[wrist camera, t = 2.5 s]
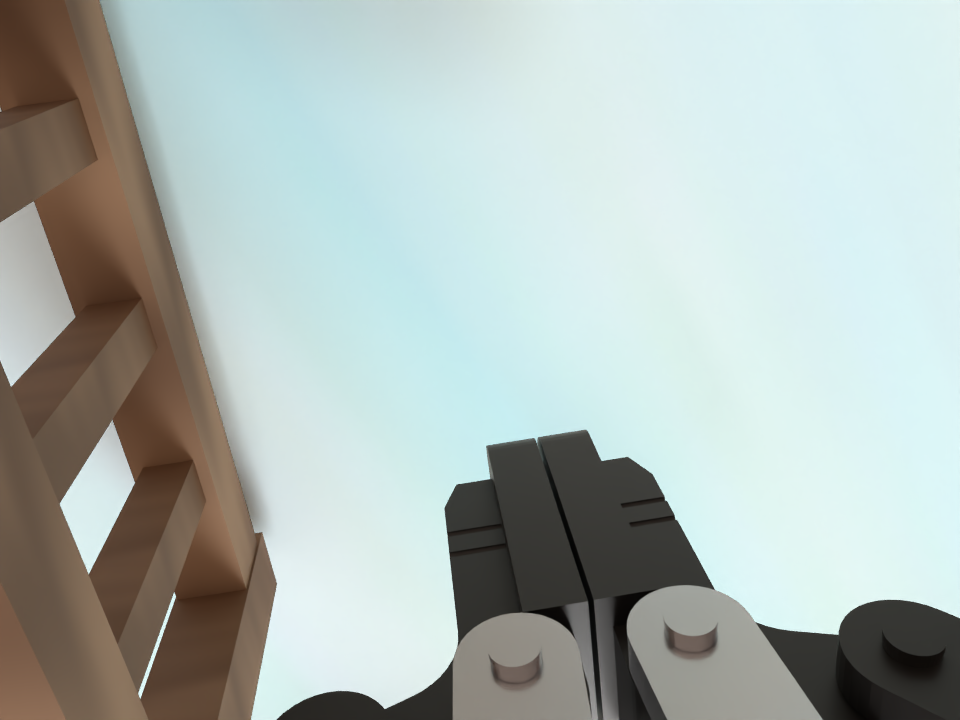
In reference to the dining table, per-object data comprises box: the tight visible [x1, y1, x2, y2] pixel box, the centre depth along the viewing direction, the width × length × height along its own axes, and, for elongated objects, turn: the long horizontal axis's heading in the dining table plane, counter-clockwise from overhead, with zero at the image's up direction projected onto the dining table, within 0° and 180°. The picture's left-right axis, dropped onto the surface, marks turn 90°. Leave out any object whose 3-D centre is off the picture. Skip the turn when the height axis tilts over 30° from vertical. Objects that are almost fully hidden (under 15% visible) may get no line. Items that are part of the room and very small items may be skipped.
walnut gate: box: [0, 0, 277, 720], centre depth 13 cm, size 16×2×9 cm, turn 6°
